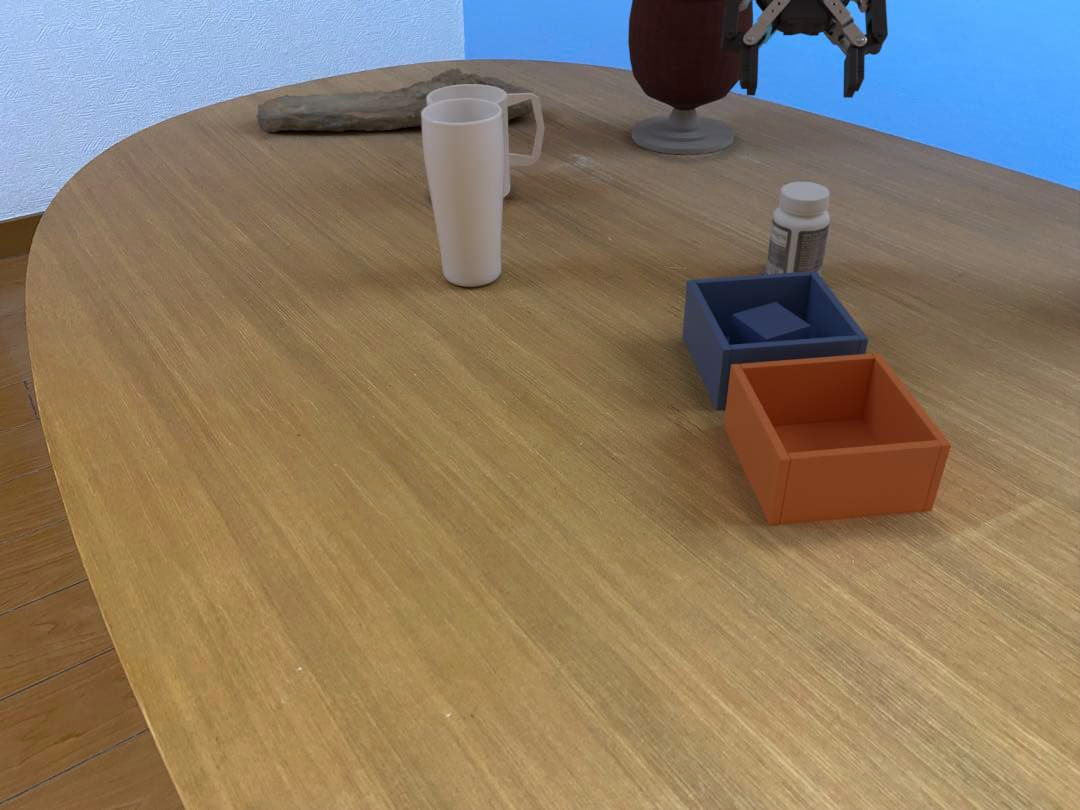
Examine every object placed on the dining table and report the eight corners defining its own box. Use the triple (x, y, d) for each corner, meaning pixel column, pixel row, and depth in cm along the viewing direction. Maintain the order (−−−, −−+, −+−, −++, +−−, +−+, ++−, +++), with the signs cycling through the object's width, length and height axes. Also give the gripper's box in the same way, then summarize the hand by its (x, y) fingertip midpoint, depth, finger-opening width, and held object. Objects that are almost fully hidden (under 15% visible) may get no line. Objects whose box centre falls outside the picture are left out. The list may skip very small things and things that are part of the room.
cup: (548, 201, 98) (547, 105, 92) (433, 206, 98) (425, 110, 92) (542, 172, 105) (541, 81, 99) (434, 177, 104) (427, 85, 98)
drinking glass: (424, 289, 83) (407, 121, 74) (448, 256, 88) (435, 95, 79) (498, 297, 81) (489, 126, 73) (518, 262, 87) (512, 99, 78)
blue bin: (805, 333, 76) (816, 270, 72) (854, 405, 67) (869, 338, 64) (681, 342, 75) (686, 279, 71) (715, 416, 66) (723, 349, 63)
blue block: (769, 346, 73) (775, 301, 70) (803, 371, 70) (811, 325, 68) (726, 359, 71) (732, 313, 69) (759, 385, 68) (766, 338, 66)
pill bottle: (822, 272, 84) (837, 183, 79) (816, 296, 80) (832, 204, 76) (768, 265, 85) (780, 176, 81) (760, 288, 82) (772, 197, 77)
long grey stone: (269, 124, 124) (258, 155, 116) (258, 84, 120) (246, 113, 113) (532, 97, 125) (539, 126, 117) (529, 57, 121) (536, 84, 114)
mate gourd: (666, 165, 106) (678, -27, 94) (603, 129, 116) (607, -48, 104) (775, 141, 112) (799, -43, 100) (706, 109, 122) (720, -61, 110)
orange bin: (864, 420, 66) (879, 352, 63) (930, 517, 57) (951, 444, 54) (722, 432, 65) (730, 363, 62) (768, 532, 57) (780, 459, 53)
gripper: (730, -101, 83) (723, 69, 80) (896, -101, 81) (895, 72, 79) (722, -46, 90) (715, 111, 88) (874, -46, 89) (872, 114, 86)
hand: (801, 92), depth 83 cm, fingers open, 8 cm apart
